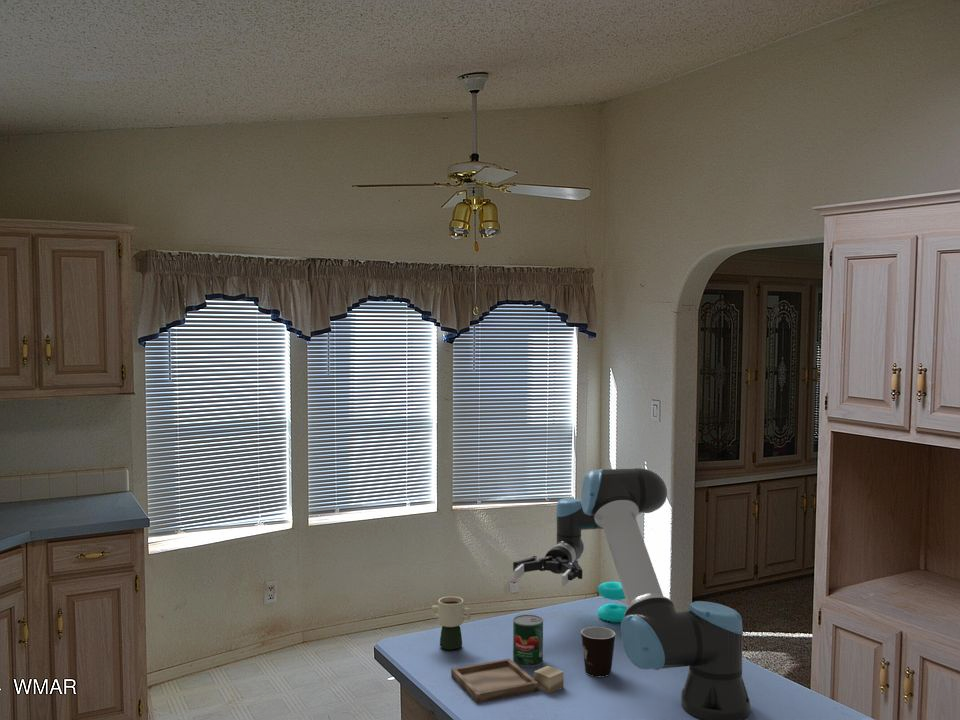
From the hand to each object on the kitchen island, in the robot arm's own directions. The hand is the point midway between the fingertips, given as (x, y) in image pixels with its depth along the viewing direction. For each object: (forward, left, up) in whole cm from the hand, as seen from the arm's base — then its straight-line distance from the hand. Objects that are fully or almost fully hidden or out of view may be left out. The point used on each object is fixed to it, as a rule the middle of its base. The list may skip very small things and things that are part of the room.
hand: (539, 578), depth 218 cm
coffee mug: (-19, -7, -19) cm, 28 cm away
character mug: (+10, +22, -19) cm, 31 cm away
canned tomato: (-7, +7, -19) cm, 22 cm away
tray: (-16, +21, -19) cm, 32 cm away
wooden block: (-23, +9, -19) cm, 32 cm away
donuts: (+12, -32, -19) cm, 40 cm away
